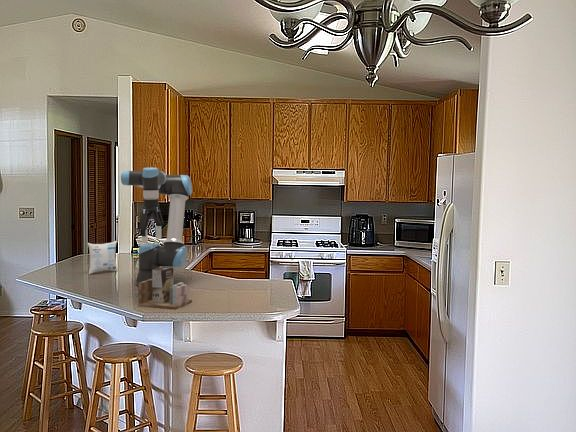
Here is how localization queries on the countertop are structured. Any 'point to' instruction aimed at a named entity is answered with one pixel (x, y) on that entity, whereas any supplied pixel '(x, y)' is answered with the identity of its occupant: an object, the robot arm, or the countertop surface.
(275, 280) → the countertop surface
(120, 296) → the countertop surface
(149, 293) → the shelf
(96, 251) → the pouch
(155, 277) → the coffee box
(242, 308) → the countertop surface
